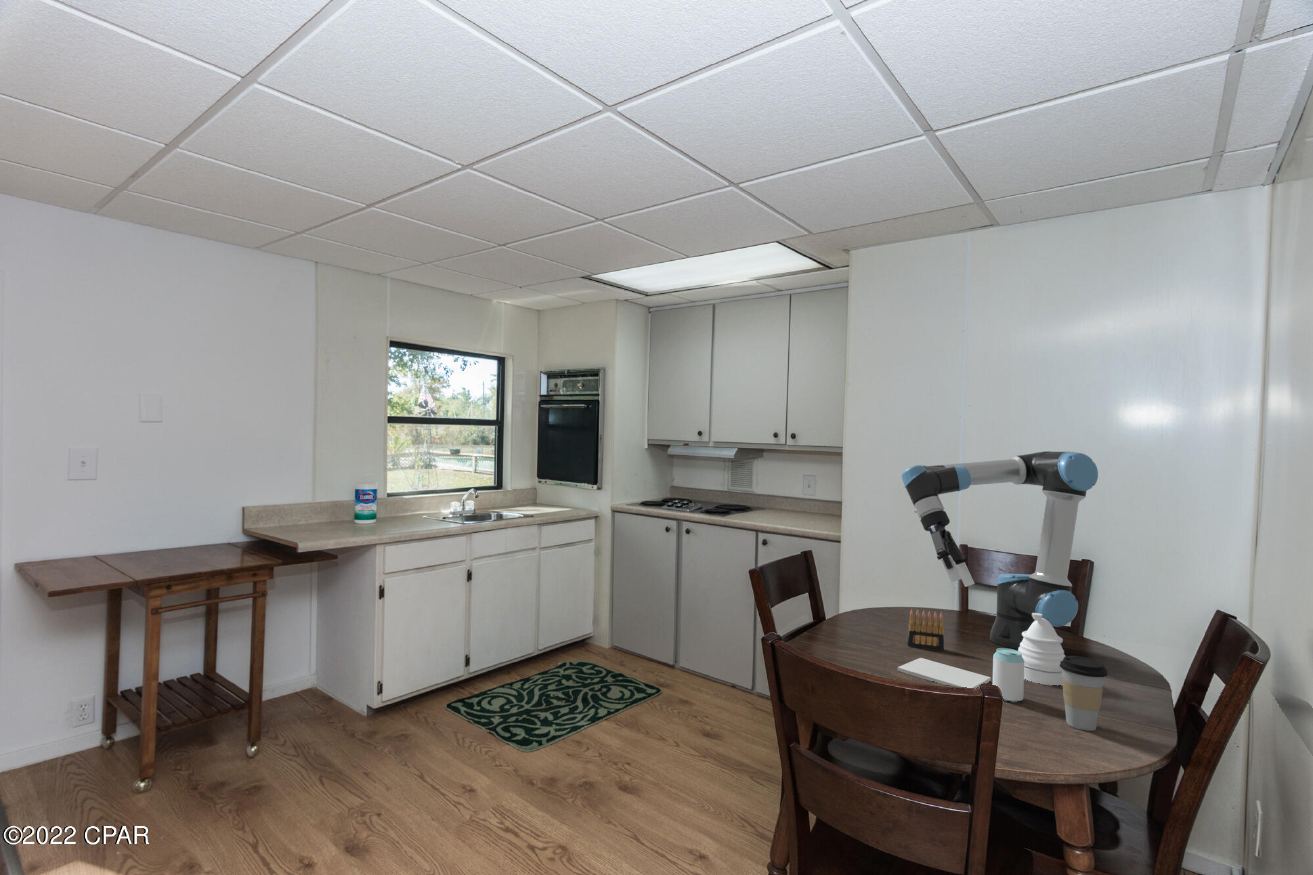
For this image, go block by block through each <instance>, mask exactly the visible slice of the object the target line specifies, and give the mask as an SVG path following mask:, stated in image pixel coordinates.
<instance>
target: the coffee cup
mask: <svg viewBox="0 0 1313 875" xmlns="http://www.w3.org/2000/svg"><path fill="white" fill-rule="evenodd" d="M1059 666H1060V667H1061V668H1062V675H1063V677H1062V684H1063V685H1062V694H1063V696H1062V697H1063V702H1064V711H1065V722H1066V723H1067V725H1068V726H1070V727H1072V728H1073V729H1077V730H1081V731H1087V732H1093V731H1096V729H1097V724H1098V718H1099V711H1100V709H1101V703H1102V699H1103V691H1104V678H1105V677H1108V675H1109V674H1108V670H1107V669H1106V668H1105V665H1104V663H1102V662H1100V661H1099V660H1097V659H1092V658H1088V657H1086V656H1085V657H1083V656H1079V655H1065V657H1064V659H1063V661H1061V662H1060V665H1059Z"/></svg>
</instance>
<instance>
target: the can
mask: <svg viewBox="0 0 1313 875" xmlns="http://www.w3.org/2000/svg"><path fill="white" fill-rule="evenodd" d="M992 657H993V658H992V680H991V682H992V685H996V686H998V687H999V688H1000V690H1001V692H1002V696H1003V698H1004V702H1007V701H1013V702H1012V703H1019V702H1020V701H1023V700H1024V689H1025V688H1024V683H1025V679H1024V659H1023V657H1022V654H1021V653H1020V652H1019V651H1018V650H1017V649H1016V650H1015V649H1013V648H1008V647H1006V648H1005V647H1004V648H1003V647H1000V648H996V652H995V653H993V656H992ZM1018 701H1019V702H1018Z"/></svg>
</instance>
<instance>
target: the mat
mask: <svg viewBox="0 0 1313 875" xmlns="http://www.w3.org/2000/svg"><path fill="white" fill-rule="evenodd" d="M897 672H900V673H903V674H906V675H909V676H913V677H916V678H920V679H922V680H925V681H930V682H932V681H935V682H934V683H936V682H937V683H936V684H939V685H943V686H945V685H951V686H956V687H967V688H975V689H976V688H977V687H979V685H981V684H983V683H986V684H988V683H990V682H992V677H990V676H987V675H984V674H981V673H977V672H973V671H969V670H966V669H963V668H959V667H955V666H951V665H947V664H944V663H940V662H937V661H933V660H930V659H926V658H923V657H919V658H916V659H914V660H912V661H909V662H906V663H905V664H902V665H899V666H898V667H897ZM989 681H990V682H989ZM979 688H980V687H979ZM976 690H977V689H976Z"/></svg>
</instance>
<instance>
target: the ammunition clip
mask: <svg viewBox="0 0 1313 875" xmlns="http://www.w3.org/2000/svg"><path fill="white" fill-rule="evenodd" d="M914 613H915V612H914V609H913V608H911V609H910V612H909V620H908V635H907V643H906V644H907V647H908V646H909V648H917V649H926V650H933V651H943V652H944V651H945V643H944V642H945V640H944V639H945V634H944V632H945V625H944V614H943V612H942V611H941V612H940V614H939V618H938V613H937V611H934V613H933V616H932V612H931V610H929V611H928V613H927V615H926V610H925V609H923V611H922V612H921V613H922V614H921V616H920V610H919V609H917V610H916V613H915V616H914ZM926 616H927V617H926ZM914 617H915V618H914ZM920 617H921V618H920ZM932 617H933V619H932ZM926 618H927V619H926ZM914 620H915V621H914Z"/></svg>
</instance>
